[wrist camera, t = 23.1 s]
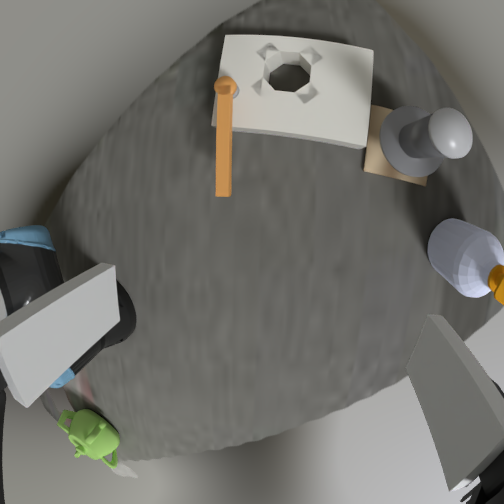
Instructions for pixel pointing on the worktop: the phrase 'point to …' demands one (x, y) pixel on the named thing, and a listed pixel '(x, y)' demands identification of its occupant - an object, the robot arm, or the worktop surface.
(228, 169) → the clip
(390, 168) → the cork mat
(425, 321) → the robot arm
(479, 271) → the soap bottle
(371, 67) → the socket block
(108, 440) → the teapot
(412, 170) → the plug
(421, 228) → the worktop surface
